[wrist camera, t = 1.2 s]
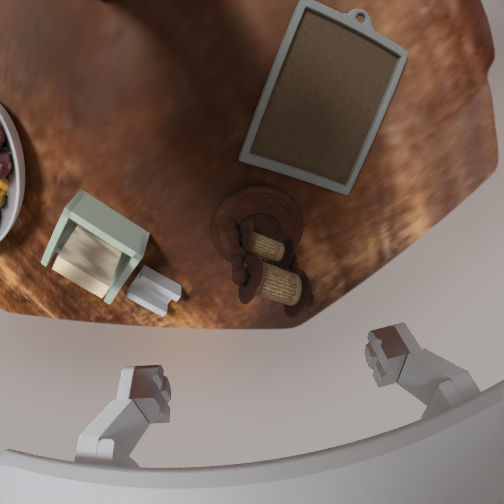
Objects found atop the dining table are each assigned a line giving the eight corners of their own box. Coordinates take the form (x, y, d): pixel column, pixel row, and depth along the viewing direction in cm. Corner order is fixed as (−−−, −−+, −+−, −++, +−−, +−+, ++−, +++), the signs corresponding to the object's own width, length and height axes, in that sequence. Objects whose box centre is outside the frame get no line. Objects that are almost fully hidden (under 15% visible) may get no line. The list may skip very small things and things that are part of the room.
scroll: (196, 243, 54) (195, 329, 37) (236, 166, 47) (253, 228, 31) (272, 270, 59) (297, 355, 42) (315, 203, 52) (364, 275, 36)
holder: (129, 285, 56) (126, 297, 54) (144, 264, 54) (141, 275, 52) (164, 305, 60) (163, 316, 57) (181, 285, 58) (180, 297, 55)
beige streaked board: (83, 219, 47) (52, 268, 35) (89, 207, 46) (57, 255, 34) (122, 243, 50) (102, 298, 39) (129, 233, 50) (109, 286, 38)
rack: (55, 241, 49) (40, 263, 43) (80, 188, 45) (65, 207, 39) (117, 279, 55) (109, 304, 49) (149, 233, 51) (143, 256, 45)
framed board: (238, 161, 46) (308, -19, 32) (237, 158, 47) (305, -16, 33) (348, 196, 51) (414, 39, 37) (344, 192, 52) (409, 39, 38)
